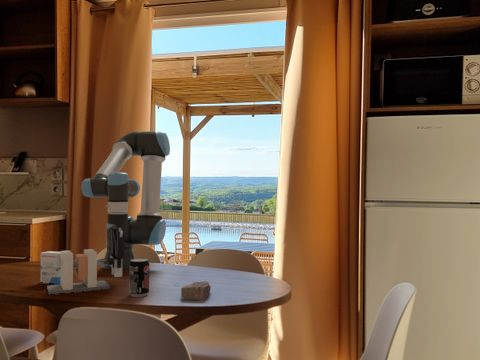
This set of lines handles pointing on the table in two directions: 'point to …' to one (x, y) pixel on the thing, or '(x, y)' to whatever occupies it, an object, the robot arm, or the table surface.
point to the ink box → (50, 267)
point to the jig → (67, 275)
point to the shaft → (101, 262)
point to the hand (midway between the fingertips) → (116, 275)
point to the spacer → (81, 266)
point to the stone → (196, 291)
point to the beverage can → (138, 277)
